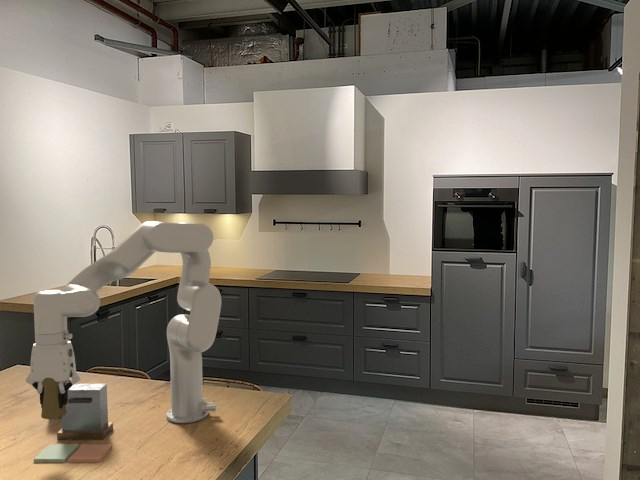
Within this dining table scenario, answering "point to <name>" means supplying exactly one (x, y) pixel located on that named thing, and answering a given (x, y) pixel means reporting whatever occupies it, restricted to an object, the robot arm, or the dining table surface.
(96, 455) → the terracotta pad
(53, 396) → the brown pepper mill
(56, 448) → the green pad
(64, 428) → the grey unit
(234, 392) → the dining table surface
